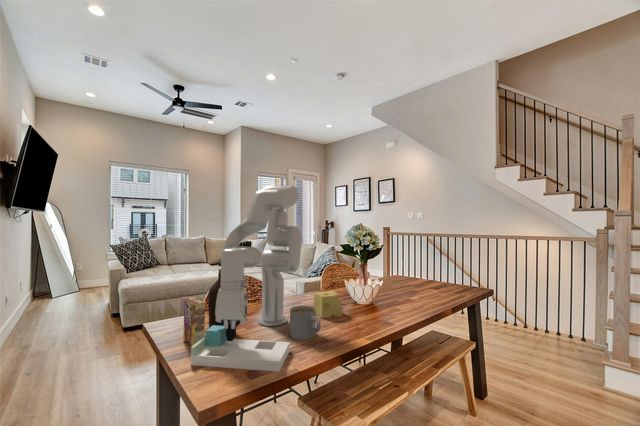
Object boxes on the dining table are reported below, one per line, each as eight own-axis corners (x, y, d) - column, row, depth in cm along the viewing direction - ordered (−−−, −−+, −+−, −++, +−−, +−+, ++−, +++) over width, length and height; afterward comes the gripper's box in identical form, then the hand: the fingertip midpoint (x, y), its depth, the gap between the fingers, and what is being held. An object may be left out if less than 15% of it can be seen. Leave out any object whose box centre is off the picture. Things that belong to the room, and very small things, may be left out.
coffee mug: (284, 334, 118) (285, 308, 118) (304, 328, 125) (305, 304, 125) (305, 345, 108) (306, 317, 108) (326, 338, 115) (326, 311, 115)
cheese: (342, 316, 141) (342, 295, 141) (320, 319, 137) (321, 297, 137) (333, 310, 150) (333, 290, 150) (313, 312, 146) (313, 291, 146)
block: (212, 339, 104) (212, 325, 104) (226, 340, 104) (226, 326, 104) (205, 345, 99) (205, 330, 99) (220, 346, 99) (220, 331, 99)
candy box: (205, 344, 108) (206, 301, 108) (193, 347, 104) (194, 303, 105) (194, 337, 114) (195, 296, 114) (182, 340, 111) (183, 299, 111)
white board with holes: (212, 346, 106) (212, 330, 106) (289, 351, 103) (289, 335, 103) (190, 365, 92) (190, 347, 92) (279, 371, 89) (279, 353, 89)
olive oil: (205, 339, 112) (207, 272, 112) (208, 329, 122) (210, 267, 123) (235, 337, 114) (236, 271, 115) (235, 327, 125) (237, 266, 125)
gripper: (257, 283, 105) (255, 336, 104) (216, 282, 106) (214, 334, 106) (249, 288, 97) (248, 345, 97) (205, 286, 99) (204, 342, 98)
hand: (230, 339), depth 101 cm, fingers closed
